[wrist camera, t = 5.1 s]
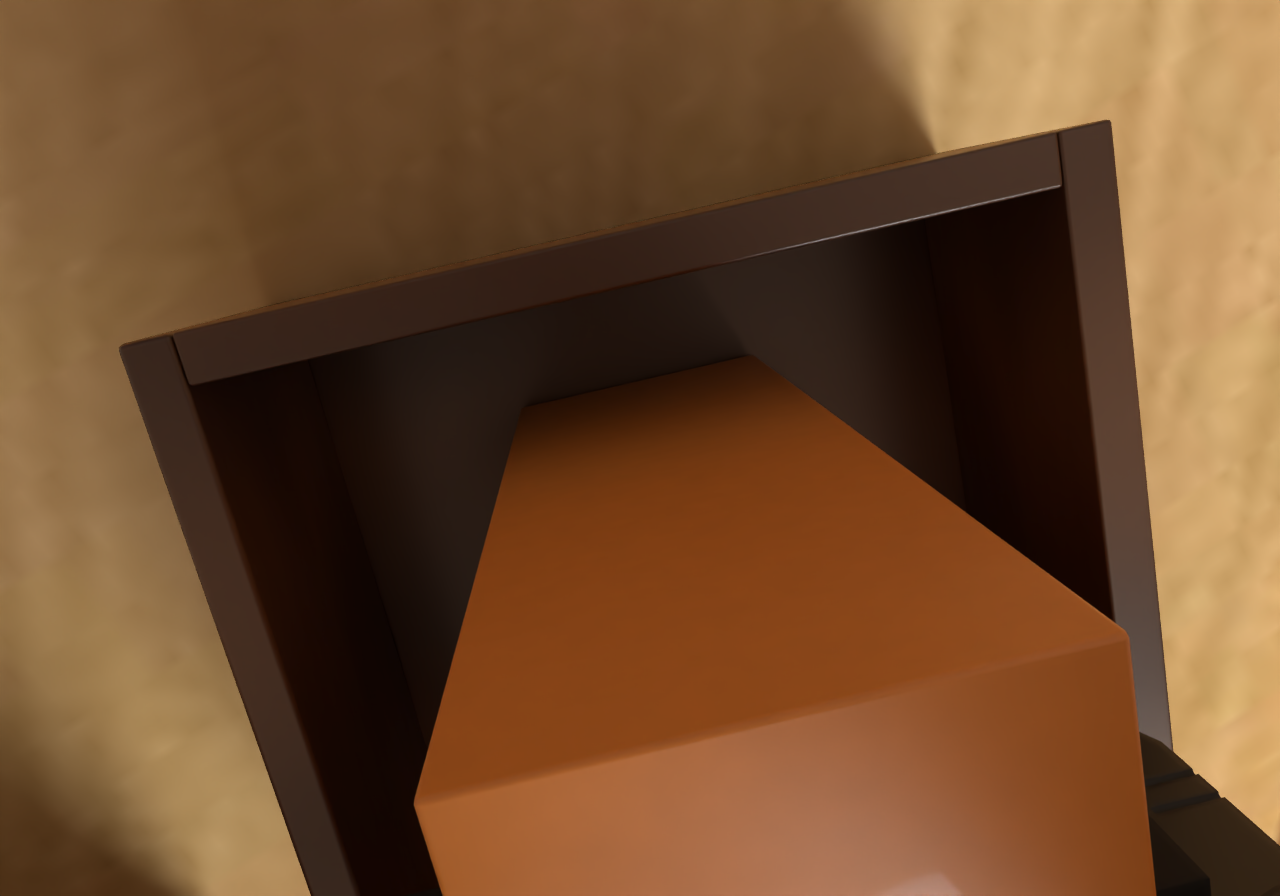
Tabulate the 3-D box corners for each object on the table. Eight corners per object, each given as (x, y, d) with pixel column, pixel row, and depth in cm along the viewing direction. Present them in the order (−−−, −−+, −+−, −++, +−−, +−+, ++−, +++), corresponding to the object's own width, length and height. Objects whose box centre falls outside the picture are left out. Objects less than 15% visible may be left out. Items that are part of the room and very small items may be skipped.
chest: (264, 306, 20) (114, 345, 14) (938, 153, 20) (1112, 117, 14) (468, 957, 24) (428, 1233, 18) (1032, 823, 24) (1204, 1046, 18)
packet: (520, 408, 20) (409, 801, 6) (753, 354, 20) (1132, 631, 7) (606, 743, 22) (660, 1596, 8) (819, 693, 22) (1218, 1455, 8)
